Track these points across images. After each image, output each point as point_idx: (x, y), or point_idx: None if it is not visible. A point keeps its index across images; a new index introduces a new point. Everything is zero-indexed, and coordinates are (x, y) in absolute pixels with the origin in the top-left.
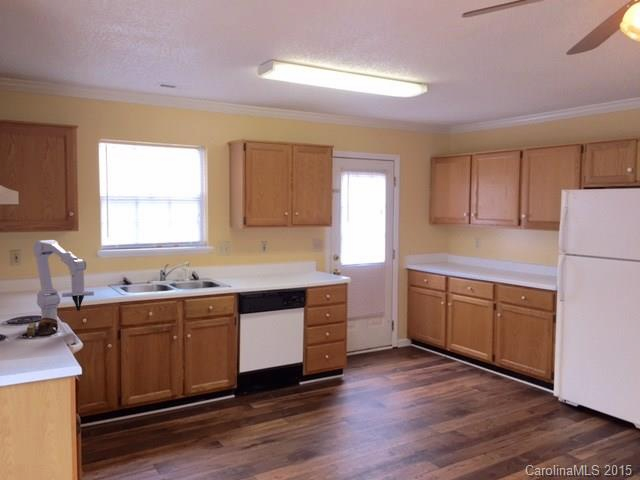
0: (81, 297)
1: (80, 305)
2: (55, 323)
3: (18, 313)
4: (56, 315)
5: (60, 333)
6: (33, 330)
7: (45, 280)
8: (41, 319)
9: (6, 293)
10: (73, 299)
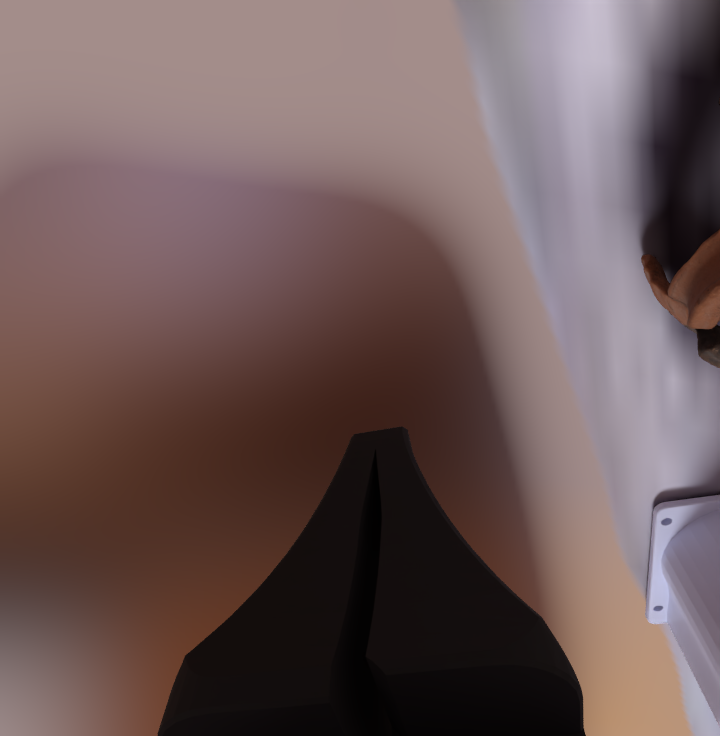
0: (210, 699)
1: (320, 505)
2: (706, 329)
3: None
4: (704, 622)
5: (583, 41)
6: None
7: None
8: None
9: None
10: (511, 617)
